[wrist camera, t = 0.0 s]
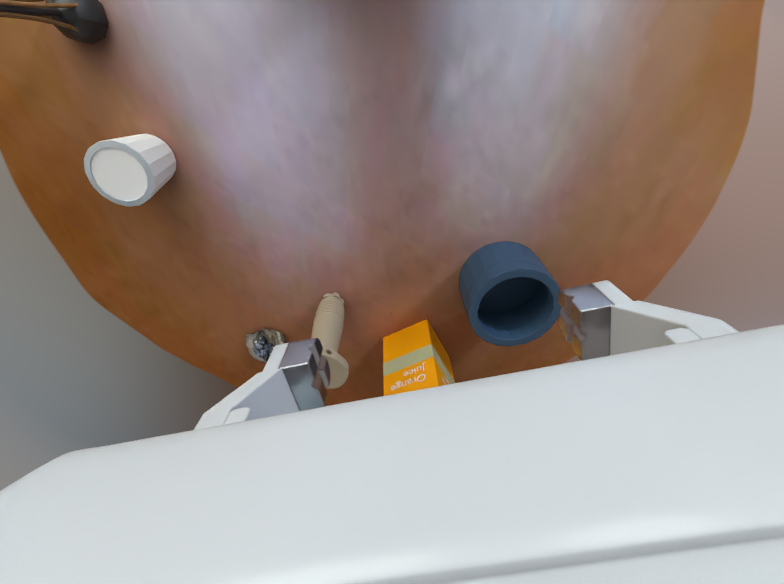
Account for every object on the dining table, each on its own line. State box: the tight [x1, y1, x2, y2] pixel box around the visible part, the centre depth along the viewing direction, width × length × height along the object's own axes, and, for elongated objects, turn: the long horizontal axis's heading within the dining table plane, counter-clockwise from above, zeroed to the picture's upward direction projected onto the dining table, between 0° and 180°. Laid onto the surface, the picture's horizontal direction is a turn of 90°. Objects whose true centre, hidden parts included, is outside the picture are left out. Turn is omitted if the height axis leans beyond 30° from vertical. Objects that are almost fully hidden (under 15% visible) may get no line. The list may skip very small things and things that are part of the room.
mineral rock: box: [246, 328, 285, 363], centre depth 62 cm, size 7×8×2 cm
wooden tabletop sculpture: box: [0, 0, 108, 44], centre depth 32 cm, size 6×5×20 cm
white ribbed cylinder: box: [84, 134, 176, 207], centre depth 45 cm, size 7×7×7 cm
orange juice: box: [383, 319, 455, 396], centre depth 55 cm, size 8×9×20 cm
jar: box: [459, 241, 562, 346], centre depth 54 cm, size 12×12×8 cm
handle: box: [312, 292, 349, 388], centre depth 52 cm, size 5×6×15 cm
